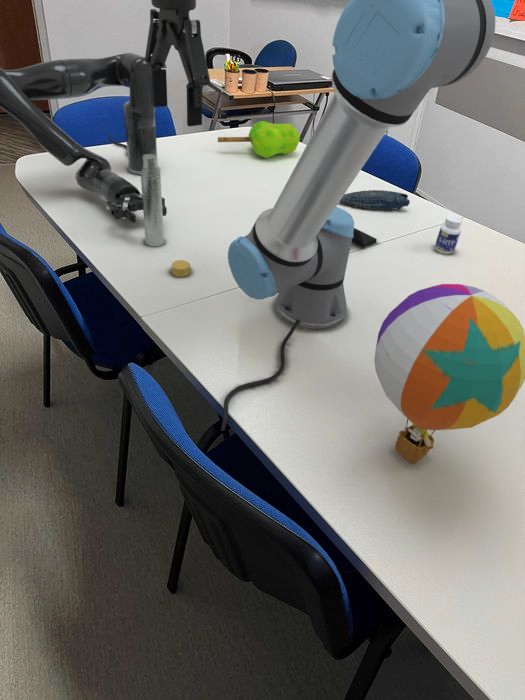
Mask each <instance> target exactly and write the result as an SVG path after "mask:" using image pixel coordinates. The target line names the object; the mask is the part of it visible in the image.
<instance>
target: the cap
mask: <svg viewBox="0 0 525 700" xmlns="http://www.w3.org/2000/svg"><path fill="white" fill-rule="evenodd" d="M171 273H172V275H173V276H174V277H177V278H184V277H187V276H189V275H190V274H191V263H190V262H189V261H187V260H184V259H179V260H174V261H173V262H171Z"/></svg>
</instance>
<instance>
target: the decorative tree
mask: <svg viewBox="0 0 525 700" xmlns="http://www.w3.org/2000/svg"><path fill="white" fill-rule="evenodd" d="M300 137H301V136H300V132H299V131H298V129H297V128H296V127H295V126H294V125H292V123H271V122H269V121H265V120H260V121H258V122H256V123H254V124H252V125H251V128H250V130H249V133H248V136H218V137H217V143H250V144H251V147H252V149H253V151H254V153H255V155H257V156H260V157H261V158H264V159H268V158H272V157H274V156H275V155H278V154H280V155H289V154H291V153H293V152H295V151H296V150H297V148H298V145H299V143H300V140H301V138H300Z"/></svg>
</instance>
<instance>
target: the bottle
mask: <svg viewBox="0 0 525 700" xmlns="http://www.w3.org/2000/svg"><path fill="white" fill-rule="evenodd" d="M156 159H157V160H158V156H157V157H156V155H153V154H145V155H143V165H144V167H143V169H142V172H141V175H140V183H141V194H142V199H143V210H142V211H143V213H142V214H143V225H144V237H145V244H146V245H147V246H150V247H160V246H163V245H164V243H165V237H164V216H163V214H162V197H163V194H162V176H161V173H160V171H159V166H158V167H157V164H158V162H157V163H156Z"/></svg>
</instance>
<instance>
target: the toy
mask: <svg viewBox="0 0 525 700" xmlns="http://www.w3.org/2000/svg"><path fill="white" fill-rule="evenodd" d="M375 345H376V346H375V351H374V358H373V362H374V370H375V373H376V376H377V378H378V381H379V383H380V385H381V388H382V390H383V392H384V394H385V396H386V398H387V399H388V400H389V401H390V402H391V404H393V406H395V408H396V409H397V410H398V411H399V412H400V413H401V414H402V415H403V416H404V417H405V418H406V424H405V428H404V430H400V431H398V436H397V438H396V441H395V447H394V449H395V452H396V453H397V454H398V455H399V456H401V457H402V458H403V459H405V460H406V461H407V462H409V463H410V464H411V465H414V466H415V465H416V464H418V462H419V461H421V460H422V459H424V458H425V457H426V456H427V455H428V454H429V452H430V451H431V450H433V449H434V443H435V439H434V437H433V434H434V433H435V432H436V431H448V430H449V431H450V430H452V431H453V430H461V429H471V428H474V427H476V426H477V425H480V424H482V423H485V422H487V421H489V420H491V419H493V418H495V417H497V416H499V415H501V414H502V413H503V412H504V411H506V409H508V408H509V407H510V405H511V404H512V402H513V401H514V399H516V396H517V395H518V393H519V392H520V389H522V386H523V385H524V383H525V330H524V328H523V325H522V324H521V321H520V320H519V318H518V317H517V316H516V315H515V313H514V312H512V310H511V309H510V308H509V307H508V305H506V303H504V301H503V300H501V299H499V297H496V296H494V295H493V294H492V293H490V292H488V291H486V290H483V289H481V288H478V287H475V286H470V285H466V284H461V283H442V284H441V283H440V284H436V285H432V286H429V287H426V288H422V289H419V290H416V291H415V292H413V293H411V294H409V295H408V296H406V297H405V298H404V300H402V301H401V302H400V303H398V305H396V307H394V308H393V309H392V310H391V311H390V312H389V313H388V314H387V316H386V317H385V319H383V321H382V323H381V326H380V328H379V332H378V334H377V340H376V344H375ZM409 421H410V423H412V424H411V425H409V426H408V424H409ZM429 431H432V432H431V434H429Z"/></svg>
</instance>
